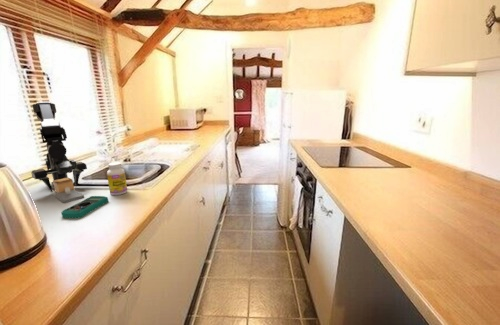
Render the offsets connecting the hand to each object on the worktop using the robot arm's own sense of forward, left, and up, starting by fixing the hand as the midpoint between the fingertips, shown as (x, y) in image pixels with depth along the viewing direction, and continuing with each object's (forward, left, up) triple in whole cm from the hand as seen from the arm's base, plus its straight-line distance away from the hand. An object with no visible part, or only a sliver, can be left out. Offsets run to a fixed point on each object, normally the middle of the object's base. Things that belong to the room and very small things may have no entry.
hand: (64, 188), depth 112 cm
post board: (+10, -2, -1) cm, 10 cm away
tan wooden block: (0, 0, -1) cm, 1 cm away
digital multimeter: (+30, -2, -2) cm, 30 cm away
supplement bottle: (+23, +13, -1) cm, 26 cm away
